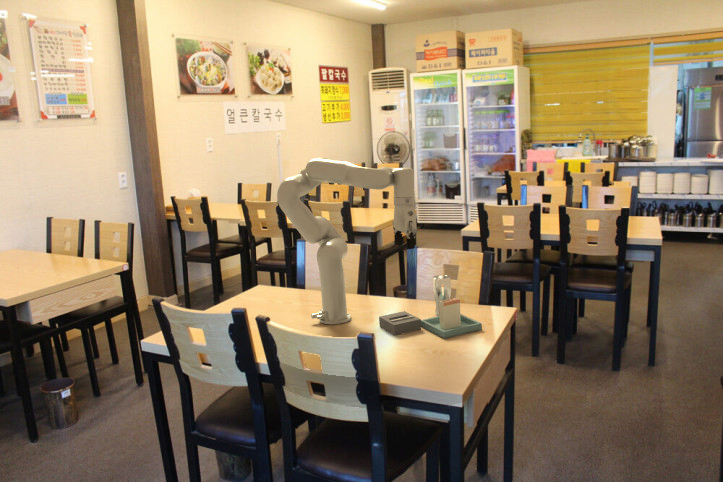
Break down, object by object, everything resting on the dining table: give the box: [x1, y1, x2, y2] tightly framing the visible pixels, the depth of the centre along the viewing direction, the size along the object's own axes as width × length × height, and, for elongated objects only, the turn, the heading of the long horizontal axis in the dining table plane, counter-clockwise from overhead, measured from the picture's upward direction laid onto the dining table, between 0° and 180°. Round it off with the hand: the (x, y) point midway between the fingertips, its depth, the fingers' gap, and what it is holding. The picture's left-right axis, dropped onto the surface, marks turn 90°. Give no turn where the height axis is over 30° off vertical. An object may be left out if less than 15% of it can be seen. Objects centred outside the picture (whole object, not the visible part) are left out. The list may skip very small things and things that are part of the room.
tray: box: [421, 313, 483, 340], centre depth 221 cm, size 16×16×2 cm
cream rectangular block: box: [439, 297, 461, 330], centre depth 221 cm, size 7×3×10 cm, turn 115°
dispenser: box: [378, 310, 422, 337], centre depth 225 cm, size 11×12×4 cm
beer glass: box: [432, 274, 452, 317], centre depth 237 cm, size 7×7×15 cm
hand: (404, 246), depth 229 cm, fingers open, 9 cm apart
